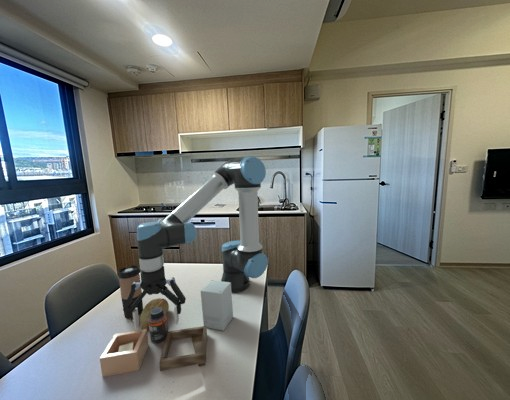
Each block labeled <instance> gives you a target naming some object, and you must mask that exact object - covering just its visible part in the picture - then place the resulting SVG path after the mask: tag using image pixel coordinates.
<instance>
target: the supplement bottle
mask: <svg viewBox="0 0 510 400" xmlns="http://www.w3.org/2000/svg"><path fill="white" fill-rule="evenodd" d="M149 329H150V330H149V335H150V342H151V343H152V344H153V345H154V344H156V345H157V344H161V343H163V342H164V343H165V341H166V337H167V334H168V331H169V325H168V318H167V313H166V314H165V313H164V312H163V309H162V308H161V307H158V308H155V309H153V310H152V311H151V316H150V318H149Z"/></svg>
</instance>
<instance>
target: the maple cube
mask: <svg viewBox="0 0 510 400" xmlns="http://www.w3.org/2000/svg"><path fill="white" fill-rule="evenodd" d="M129 350H134V343H133V342H131V343H128V344H125V345H122V346H119V351H118V352H123V351H129Z"/></svg>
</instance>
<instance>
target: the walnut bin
mask: <svg viewBox="0 0 510 400" xmlns="http://www.w3.org/2000/svg"><path fill="white" fill-rule="evenodd" d="M207 329H208V328H207V327H206V326H204V325H203V326H202V325H201V326H195V327H188V328H181V329H176V330H168V334H167V337H166V340H165V341H164V345H163V348H162V351H161V355H160V357H159V358H160V359H159V362H158V364H159V366H158V367H159V371H167V370H172V369H177V368H178V369H179V368H184V367H189V366H195V365H198V367H202V366H206V361H207V341H208V339H207V338H208V331H207ZM187 338H189V339H190V338H191V341H192V345H193V350H194V353H191V354H185V355H179V356H175V357H173V356H172V357H168V354H169V350H170V348H171V343H172V341H176V340H183V339H187Z"/></svg>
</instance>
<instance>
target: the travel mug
mask: <svg viewBox="0 0 510 400" xmlns="http://www.w3.org/2000/svg"><path fill="white" fill-rule="evenodd" d="M117 273H118V280H119V289H120V290H119V291H120V298H121V303H122V309H123V308H124V306H125V303H126V301H127V299H128V297H129V294H130V292H131V285H132V284H133V283H134V281H137V283H141V274H140V266H138V265H133V264H132V265H130V266H129V267H122V268H120V269H119V270H118V272H117ZM142 290H143V289H142V288H141V287H139V288H138V289H137V290H136V292H135V294H134V296H133V299H132V301H131V303H130V305H131V306H132V305H133V303H134V302H135V301H136V300H137V298H138V297H139V296H140V294H141V293H142V292H143V291H142ZM143 302H144V301H143V299H142V300H141V301H140V302H139V304H138V305H137V306H136V307H135V308H138V317H139V316H141V313H142V311H143V309H144V306H143V305H144V304H143ZM123 314H124V315H123V316H124V317H125V318H126V319H130V312H129V311H123Z"/></svg>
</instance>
